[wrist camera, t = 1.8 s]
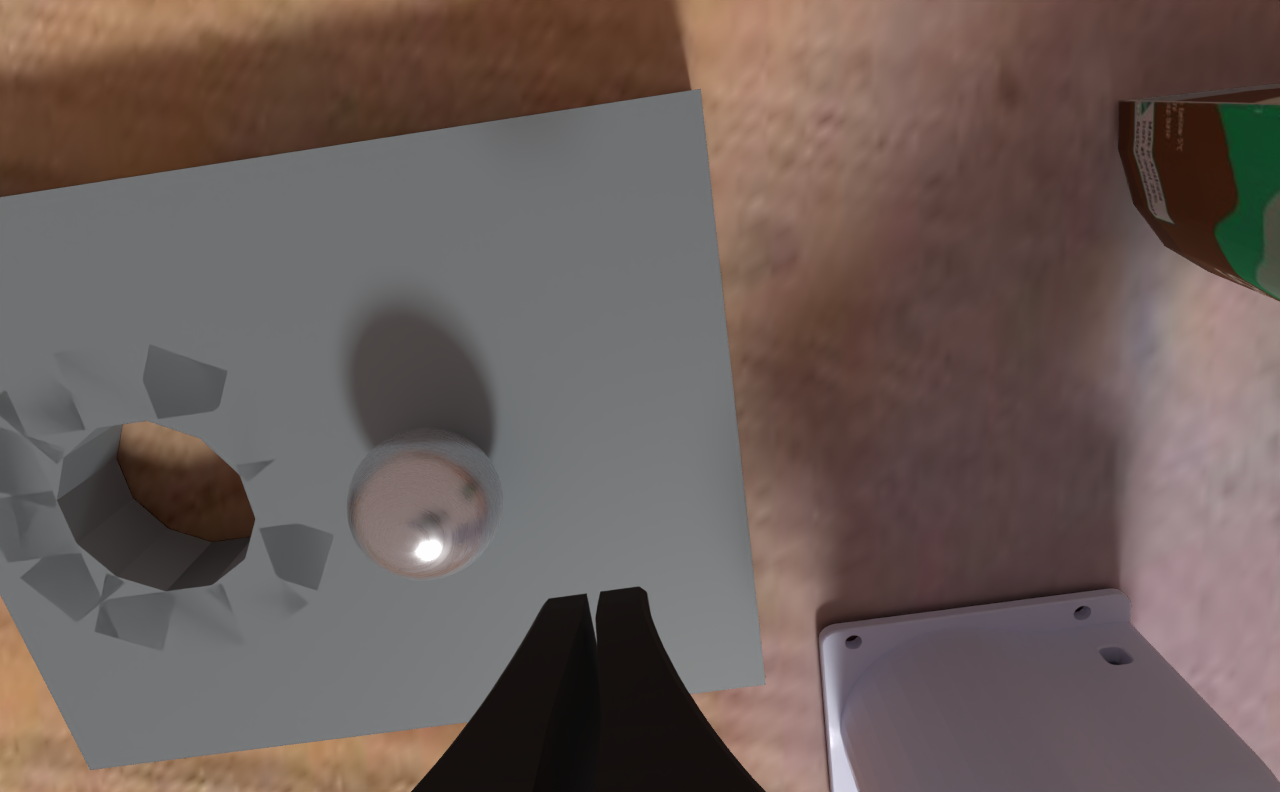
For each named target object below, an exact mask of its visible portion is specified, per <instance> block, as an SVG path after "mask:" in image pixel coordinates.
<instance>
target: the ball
mask: <svg viewBox="0 0 1280 792" xmlns="http://www.w3.org/2000/svg"><path fill="white" fill-rule="evenodd" d="M502 510H503V493H502V486H501V482H500V479H499V476H498V474H497V471H496V469H495V467H494V465H493V464H492V462H491V460H490V459H489V458H488V456H487V455H486V454H485V453H484V452H483V451H482V450H481V449H480V448H479V447H478V446H477V445H476V444H474V443H473V442H471V441H470V440H468V439H467V438H465V437H463V436H461V435H459V434H456V433H454V432H451V431H447V430H443V429H437V428H418V429H413V430H408V431H404V432H401V433H398V434H395V435H393V436H391V437H389V438H388V439H386V440H384V441H383V442H381V443H380V444H378V445H377V446H376V447H375V448H374V449H372V450H371V451H370V452H369V453H368V454H367V455H366V457H365V458H364V459H363V460H362V462H361V463H360V465H359V466H358V468H357V470H356V471H355V473H354V475H353V478H352V480H351V483H350V486H349V490H348V495H347V519H348V524H349V528H350V531H351V533H352V536H353V538H354V540H355V542H356V544H357V546H358V547H359V548H360V550H361V551H362V552H363V554H364V555H365V556H366V557H367V558H368V559H369V560H370V561H371V562H372V563H374V564H375V565H376V566H377V567H379V568H380V569H382V570H384V571H386V572H388V573H390V574H392V575H394V576H397V577H401V578H404V579H410V580H435V579H440V578H444V577H447V576H450V575H452V574H455V573H457V572H459V571H461V570H463V569H464V568H466V567H468V566H469V565H470V564H472V563H473V562H474V561H475V560H477V559H478V558H479V557H480V556H481V555H482V554H483V553H484V551H485V550H486V549H487V548H488V546H489V545H490V543H491V542H492V540H493V538H494V536H495V534H496V532H497V530H498V528H499V524H500V521H501V517H502Z"/></svg>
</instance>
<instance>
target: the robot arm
mask: <svg viewBox="0 0 1280 792" xmlns="http://www.w3.org/2000/svg"><path fill="white" fill-rule="evenodd" d="M1081 606H1083V608H1082V609H1081V610H1080V611H1078V612H1075V610H1076V609H1077V608H1078V607H1081ZM1130 614H1131V601H1130V600H1129V598H1128V597H1127V596H1126V595H1125V594H1124V593H1123V592H1122V591H1120V590H1118V589H1112V588H1110V589H1102V590H1094V591H1086V592H1079V593H1071V594H1063V595H1055V596H1048V597H1040V598H1032V599H1024V600H1017V601H1009V602H1001V603H993V604H986V605H978V606H970V607H962V608H955V609H947V610H939V611H931V612H924V613H916V614H908V615H900V616H892V617H885V618H877V619H869V620H861V621H854V622H846V623H838V624H832V625H829V626H827V627H825V628H824V629H823V630H822V631H821V633H820V634H819V649H820V662H821V675H822V688H823V701H824V714H825V726H826V739H827V752H828V765H829V778H830V791H831V792H1280V782H1279V781H1278V779H1277V778H1276V777H1275V775H1274V774H1273V773H1272V771H1271V770H1270V769H1269V768H1268V767H1267V766H1266V765H1265V763H1264V762H1263V761H1262V760H1261V759H1260V758H1259V757H1258V755H1257V754H1256V753H1255V752H1254V751H1253V750H1252V749H1251V748H1250V747H1249V746H1248V745H1247V744H1246V743H1245V742H1244V741H1243V740H1242V739H1241V738H1240V737H1239V736H1238V735H1237V734H1236V733H1235V731H1234V730H1233V729H1232V728H1231V727H1230V726H1229V725H1228V724H1227V723H1226V722H1225V721H1224V720H1223V719H1222V718H1221V717H1220V716H1219V715H1218V714H1217V713H1216V712H1215V711H1214V710H1213V709H1212V708H1211V707H1210V705H1209V704H1208V703H1207V702H1206V701H1205V700H1204V699H1203V698H1202V697H1201V696H1200V695H1199V694H1198V693H1197V692H1196V691H1195V690H1194V689H1193V688H1192V687H1191V686H1190V685H1189V684H1188V683H1187V682H1186V681H1185V679H1184V678H1183V677H1182V676H1181V675H1180V674H1179V673H1178V672H1177V671H1176V670H1175V669H1174V668H1173V667H1172V666H1171V665H1170V664H1169V663H1168V662H1167V661H1166V660H1165V659H1164V658H1163V657H1162V656H1161V655H1160V653H1159V652H1158V651H1157V650H1156V649H1155V648H1154V647H1153V646H1152V645H1151V644H1150V643H1149V642H1148V641H1147V640H1146V639H1145V638H1144V637H1143V636H1142V635H1141V634H1140V633H1139V632H1138V631H1137V630H1136V629H1135V627H1134V626H1133V625H1132V624H1131V623H1130ZM595 621H596V637H597V642H596V637H595V632H594V627H593V622H592V617H591V612H590V607H589V602H588V597H587V593H586V594H578V595H571V596H564V597H556V598H549V599H548V600H547V601H546V602H545V603H544V605H543V606H542V608H541V609H540V611H539V613H538V615H537V617H536V618H535V620H534V622H533V624H532V625H531V627H530V629H529V631H528V632H527V634H526V636H525V638H524V639H523V641H522V643H521V644H520V646H519V648H518V649H517V651H516V653H515V654H514V656H513V657H512V659H511V661H510V662H509V664H508V665H507V667H506V668H505V670H504V671H503V673H502V674H501V676H500V678H499V679H498V681H497V682H496V684H495V685H494V687H493V688H492V690H491V691H490V693H489V694H488V696H487V697H486V699H485V700H484V701H483V703H482V704H481V706H480V707H479V708H478V710H477V711H476V712H475V714H474V715H473V716H472V718H471V719H470V721H469V722H468V723H467V725H466V726H465V727H464V729H463V730H462V731H461V733H460V734H459V736H458V737H457V738H456V739H455V741H454V742H453V743H452V744H451V746H450V747H449V748H448V749H447V751H446V752H445V753H444V754H443V756H442V757H441V758H440V759H439V760H438V762H437V763H436V764H435V765H434V766H433V768H432V769H431V770H430V771H429V772H428V773H427V774H426V776H425V777H424V778H423V779H422V780H421V781H420V782H419V783H418V785H417V786H416V787H415V788H414V789H413V790H412V791H411V792H766V791H765V790H764V789H763V788H762V787H761V786H760V785H759V784H758V783H757V782H756V781H755V780H754V779H753V778H752V777H751V775H750V774H749V773H748V772H747V771H746V770H745V768H744V767H743V766H742V765H741V764H740V762H739V761H738V760H737V759H736V758H735V756H734V755H733V754H732V753H731V752H730V750H729V749H728V748H727V746H726V745H725V744H724V742H723V741H722V740H721V739H720V737H719V736H718V735H717V733H716V732H715V731H714V729H713V728H712V726H711V725H710V724H709V722H708V721H707V719H706V718H705V716H704V715H703V714H702V712H701V711H700V709H699V708H698V706H697V704H696V703H695V701H694V700H693V698H692V697H691V695H690V693H689V692H688V690H687V689H686V687H685V685H684V683H683V682H682V680H681V678H680V677H679V675H678V673H677V671H676V669H675V667H674V665H673V663H672V662H671V660H670V658H669V656H668V654H667V652H666V650H665V648H664V646H663V644H662V642H661V639H660V637H659V635H658V632H657V630H656V627H655V625H654V622H653V619H652V616H651V612H650V606H649V600H648V594H647V591H645V590H644V589H642V588H641V587H639V586H638V587H630V588H623V589H615V590H608V591H601V592H600V595H599V600H598V604H597V611H596V617H595ZM852 635H856V636H858V637H857V638H856V639H855V640H853V641H846V639H847V638H848V637H850V636H852Z"/></svg>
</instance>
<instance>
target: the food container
mask: <svg viewBox="0 0 1280 792" xmlns="http://www.w3.org/2000/svg"><path fill="white" fill-rule="evenodd" d="M1118 149H1119V153H1120V157H1121V160H1122V164H1123V167H1124V171H1125V175H1126V178H1127V182H1128V185H1129V189H1130V193H1131V196H1132V200H1133V203H1134V205H1135V207H1136V208H1137V209H1138V211H1139V212H1140V213H1141V215H1142V216H1143V217H1144V219H1145V220H1146V221H1147V223H1148V224H1149V225H1150V227H1151V228H1152V229H1153V231H1154V232H1155V233H1156V235H1157V236H1158V238H1159V239H1160V240H1161V242H1162V243H1163V244H1164V246H1166V247H1167V248H1169V249H1171V250H1173V251H1174V252H1176V253H1178V254H1179V255H1181V256H1183V257H1184V258H1186V259H1188V260H1190V261H1191V262H1193V263H1195V264H1196V265H1198V266H1200V267H1201V268H1203V269H1205V270H1207V271H1208V272H1211V273H1213V274H1216V275H1218V276H1220V277H1223V278H1225V279H1228V280H1230V281H1232V282H1235V283H1237V284H1239V285H1242V286H1244V287H1247V288H1249V289H1251V290H1254V291H1256V292H1258V293H1261V294H1263V295H1266V296H1268V297H1270V298H1273V299H1275V300H1278V301H1280V83H1274V84H1265V85H1256V86H1248V87H1239V88H1230V89H1221V90H1212V91H1203V92H1194V93H1185V94H1176V95H1168V96H1159V97H1150V98H1141V99H1132V100H1123V101H1119V143H1118Z"/></svg>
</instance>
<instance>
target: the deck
mask: <svg viewBox="0 0 1280 792" xmlns="http://www.w3.org/2000/svg"><path fill="white" fill-rule="evenodd" d="M142 421H149V422H152V423H155V424H158V425H161V426H164V427H167V428H170V429H173V430H176V431H179V432H182V433H185V434H188V435H191V436H194V437H197V438H200V439H201V440H202V441H203V442H204V443H206V444H207V445H208V446H209V447H210V448H211V449H212V450H213V451H214V452H215V453H216V454H217V455H219V456H220V457H221V458H222V459H223V460H224V461H225V462H226V463H227V464H228V465H229V466H231V467H232V468H233V469H234V470H235V471H236V472H237V473H238V474H239V475H240V477H241V480H242V483H243V486H244V489H245V491H246V494H247V497H248V500H249V502H250V505H251V508H252V511H253V513H254V516H255V523H254V527H253V531H252V535H251V537H247V538H239V539H232V540H225V541H217V542H210V541H206V540H203V539H200V538H197V537H194V536H190V535H187V534H184V533H181V532H178V531H174V530H171V529H168V528H167V527H166V526H165V525H163V524H162V523H161V522H160V521H159V520H158V519H156V518H155V517H154V516H153V515H152V514H151V513H150V512H148V511H147V510H146V509H145V508H144V507H143V506H141V505H140V504H139V503H138V502H137V501H136V500H135V499H133V497H132V495H131V492H130V490H129V487H128V485H127V483H126V480H125V478H124V476H123V473H122V471H121V468H120V466H119V464H118V461H117V459H116V458H117V452H118V447H119V441H120V436H121V431H122V425H123V424H128V423H135V422H142ZM418 428H437V429H443V430H447V431H451V432H454V433H456V434H459V435H461V436H463V437H465V438H467V439H468V440H470V441H471V442H473V443H474V444H476V445H477V446H478V447H479V448H480V449H481V450H482V451H483V452H484V453H485V454H486V455H487V456H488V458H489V459H490V460H491V462H492V464H493V465H494V467H495V469H496V471H497V474H498V476H499V479H500V482H501V486H502V493H503V510H502V517H501V521H500V524H499V528H498V530H497V532H496V534H495V536H494V538H493V540H492V542H491V543H490V545H489V546H488V548H487V549H486V550H485V551H484V553H483V554H482V555H481V556H480V557H479V558H478V559H477V560H475V561H474V562H473V563H472V564H470V565H469V566H468V567H466V568H464V569H463V570H461V571H459V572H457V573H455V574H452V575H450V576H447V577H444V578H440V579H435V580H410V579H404V578H401V577H397V576H394V575H392V574H390V573H388V572H386V571H384V570H382V569H380V568H379V567H377V566H376V565H375V564H374V563H372V562H371V561H370V560H369V559H368V558H367V557H366V556H365V555H364V554H363V552H362V551H361V550H360V548H359V547H358V546H357V544H356V542H355V540H354V538H353V536H352V533H351V531H350V528H349V524H348V519H347V495H348V490H349V486H350V483H351V480H352V478H353V475H354V473H355V471H356V470H357V468H358V466H359V465H360V463H361V462H362V460H363V459H364V458H365V457H366V455H367V454H368V453H369V452H370V451H371V450H372V449H374V448H375V447H376V446H377V445H378V444H380V443H381V442H383V441H384V440H386V439H388V438H389V437H391V436H393V435H395V434H398V433H401V432H404V431H408V430H413V429H418ZM638 586H639V587H641V588H642V589H644V590H645V591H647V594H648V600H649V606H650V612H651V616H652V619H653V622H654V625H655V627H656V630H657V632H658V635H659V637H660V639H661V642H662V644H663V646H664V648H665V650H666V652H667V654H668V656H669V658H670V660H671V662H672V663H673V665H674V667H675V669H676V671H677V673H678V675H679V677H680V678H681V680H682V682H683V683H684V685H685V687H686V689H687V690H688V692H689V693H690V694H695V693H703V692H710V691H718V690H726V689H734V688H742V687H750V686H758V685H766V683H765V674H764V665H763V656H762V647H761V637H760V628H759V619H758V610H757V601H756V592H755V583H754V573H753V564H752V555H751V546H750V537H749V528H748V518H747V509H746V500H745V491H744V482H743V473H742V464H741V454H740V445H739V436H738V427H737V418H736V409H735V400H734V390H733V381H732V372H731V363H730V354H729V345H728V336H727V326H726V317H725V308H724V299H723V290H722V281H721V272H720V262H719V253H718V244H717V235H716V226H715V217H714V208H713V198H712V189H711V180H710V171H709V162H708V153H707V144H706V134H705V125H704V116H703V107H702V98H701V89H697V90H690V91H684V92H677V93H671V94H664V95H658V96H651V97H645V98H638V99H632V100H625V101H619V102H612V103H606V104H600V105H593V106H587V107H580V108H574V109H567V110H561V111H554V112H548V113H541V114H535V115H528V116H522V117H515V118H509V119H503V120H496V121H490V122H483V123H477V124H470V125H464V126H457V127H451V128H444V129H438V130H431V131H425V132H419V133H412V134H406V135H399V136H393V137H386V138H380V139H373V140H367V141H360V142H354V143H347V144H341V145H334V146H328V147H322V148H315V149H309V150H302V151H296V152H289V153H283V154H276V155H270V156H263V157H257V158H250V159H244V160H238V161H231V162H225V163H218V164H212V165H205V166H199V167H192V168H186V169H179V170H173V171H166V172H160V173H153V174H147V175H141V176H134V177H128V178H121V179H115V180H108V181H102V182H95V183H89V184H82V185H76V186H69V187H63V188H57V189H50V190H44V191H37V192H31V193H24V194H18V195H11V196H5V197H0V595H1V597H2V599H3V601H4V603H5V605H6V607H7V609H8V611H9V613H10V615H11V617H12V618H13V620H14V622H15V624H16V626H17V628H18V630H19V632H20V634H21V636H22V638H23V640H24V642H25V644H26V646H27V648H28V650H29V652H30V654H31V656H32V658H33V659H34V661H35V663H36V665H37V667H38V669H39V671H40V673H41V675H42V677H43V679H44V681H45V683H46V685H47V687H48V689H49V691H50V693H51V695H52V697H53V699H54V700H55V702H56V704H57V706H58V708H59V710H60V712H61V714H62V716H63V718H64V720H65V722H66V724H67V726H68V728H69V730H70V732H71V734H72V736H73V738H74V740H75V742H76V743H77V745H78V747H79V749H80V751H81V753H82V755H83V757H84V759H85V761H86V763H87V765H88V767H89V769H90V770H94V769H102V768H110V767H117V766H125V765H133V764H141V763H149V762H157V761H165V760H173V759H181V758H189V757H197V756H204V755H212V754H220V753H228V752H236V751H244V750H252V749H260V748H268V747H276V746H283V745H291V744H299V743H307V742H315V741H323V740H331V739H339V738H347V737H355V736H363V735H370V734H378V733H386V732H394V731H402V730H410V729H418V728H426V727H434V726H442V725H450V724H457V723H465V722H469V721H470V719H471V718H472V716H473V715H474V714H475V712H476V711H477V710H478V708H479V707H480V706H481V704H482V703H483V701H484V700H485V699H486V697H487V696H488V694H489V693H490V691H491V690H492V688H493V687H494V685H495V684H496V682H497V681H498V679H499V678H500V676H501V674H502V673H503V671H504V670H505V668H506V667H507V665H508V664H509V662H510V661H511V659H512V657H513V656H514V654H515V653H516V651H517V649H518V648H519V646H520V644H521V643H522V641H523V639H524V638H525V636H526V634H527V632H528V631H529V629H530V627H531V625H532V624H533V622H534V620H535V618H536V617H537V615H538V613H539V611H540V609H541V608H542V606H543V605H544V603H545V602H546V601H547V600H548V599H549V598H556V597H564V596H571V595H578V594H586V593H587V597H588V602H589V607H590V612H591V617H592V622H593V627H594V632H595V637H596V621H595V617H596V611H597V604H598V600H599V595H600V592H601V591H608V590H615V589H623V588H630V587H638ZM596 642H597V637H596Z"/></svg>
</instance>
